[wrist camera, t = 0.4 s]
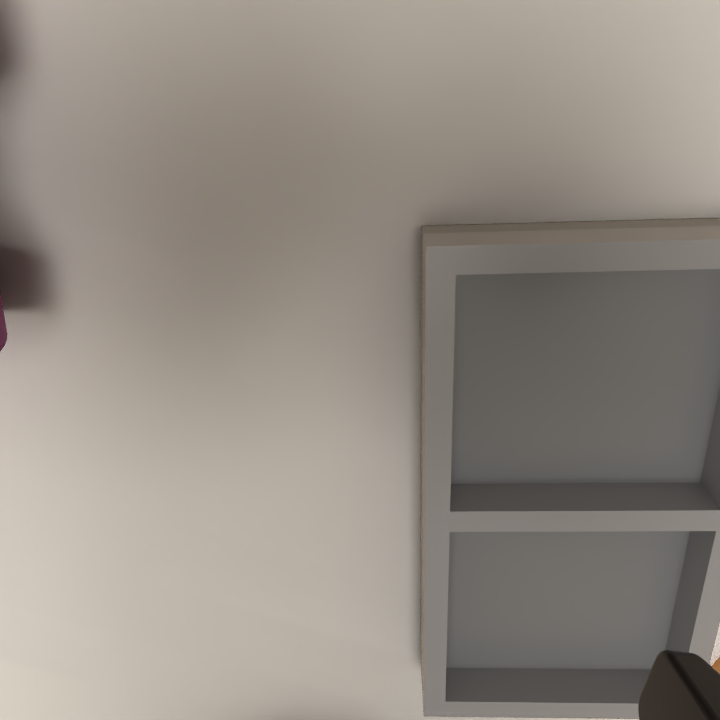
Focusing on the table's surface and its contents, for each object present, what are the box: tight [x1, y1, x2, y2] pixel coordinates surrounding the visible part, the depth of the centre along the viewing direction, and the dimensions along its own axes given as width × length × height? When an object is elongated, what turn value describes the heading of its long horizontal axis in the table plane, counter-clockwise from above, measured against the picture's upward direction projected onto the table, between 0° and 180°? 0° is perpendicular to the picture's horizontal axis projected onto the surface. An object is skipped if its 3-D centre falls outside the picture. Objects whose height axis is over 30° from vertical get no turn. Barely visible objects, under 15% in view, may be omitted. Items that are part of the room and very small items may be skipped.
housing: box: [421, 218, 720, 719], centre depth 22 cm, size 18×10×2 cm, turn 2°
